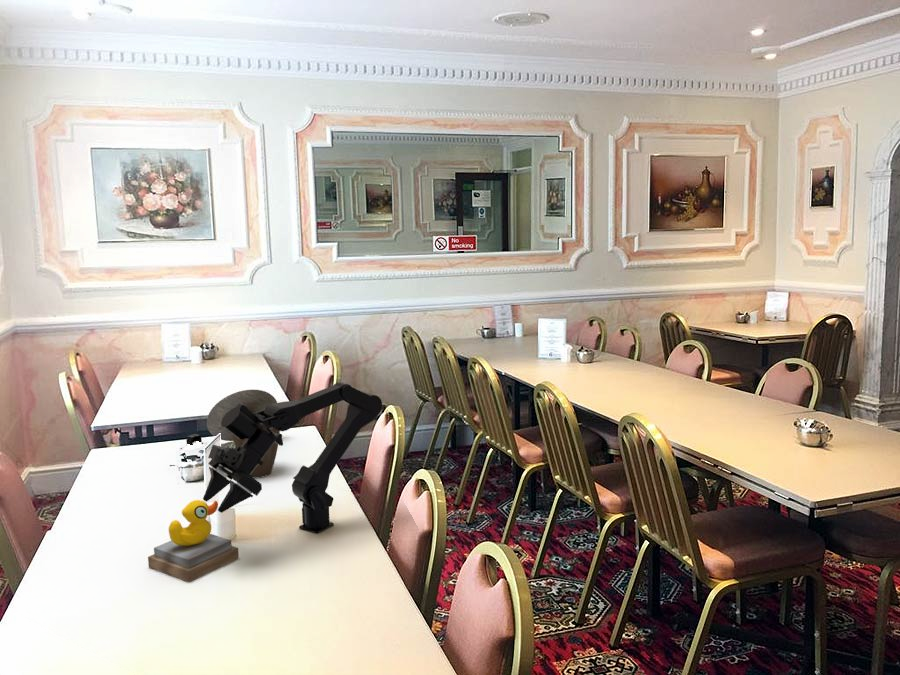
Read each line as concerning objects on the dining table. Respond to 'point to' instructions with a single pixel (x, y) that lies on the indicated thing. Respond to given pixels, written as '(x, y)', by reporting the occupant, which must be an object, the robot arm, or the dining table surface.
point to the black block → (193, 439)
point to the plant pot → (267, 459)
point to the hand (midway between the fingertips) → (211, 506)
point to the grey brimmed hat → (248, 398)
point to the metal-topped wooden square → (193, 557)
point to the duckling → (193, 524)
